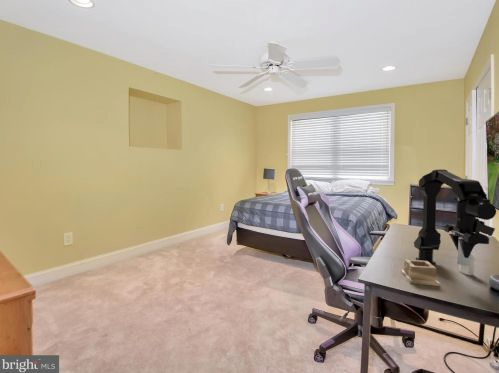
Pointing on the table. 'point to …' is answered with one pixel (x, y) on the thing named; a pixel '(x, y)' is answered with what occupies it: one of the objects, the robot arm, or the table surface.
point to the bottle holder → (420, 272)
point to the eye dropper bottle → (468, 267)
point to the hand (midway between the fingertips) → (463, 256)
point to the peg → (462, 256)
